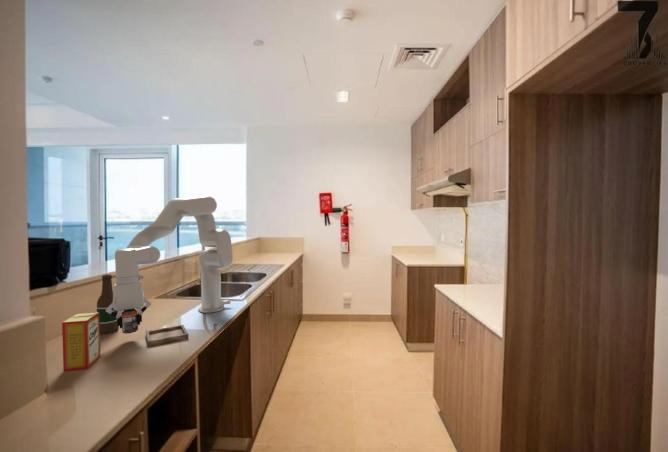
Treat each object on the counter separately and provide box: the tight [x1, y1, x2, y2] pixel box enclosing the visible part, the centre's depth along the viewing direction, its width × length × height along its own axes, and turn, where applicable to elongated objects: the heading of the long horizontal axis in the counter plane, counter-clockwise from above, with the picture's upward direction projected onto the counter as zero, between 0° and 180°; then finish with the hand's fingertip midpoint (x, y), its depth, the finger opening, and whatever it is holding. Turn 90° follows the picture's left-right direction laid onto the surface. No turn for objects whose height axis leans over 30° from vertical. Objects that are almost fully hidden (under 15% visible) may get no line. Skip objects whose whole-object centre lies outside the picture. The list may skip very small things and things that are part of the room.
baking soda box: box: [61, 311, 101, 372], centre depth 106 cm, size 10×6×16 cm
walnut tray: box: [145, 324, 189, 348], centre depth 129 cm, size 14×13×2 cm
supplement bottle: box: [121, 308, 139, 335], centre depth 126 cm, size 5×5×10 cm
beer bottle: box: [96, 274, 120, 335], centre depth 136 cm, size 8×8×24 cm
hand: (129, 325), depth 126 cm, fingers closed on supplement bottle, 5 cm apart
